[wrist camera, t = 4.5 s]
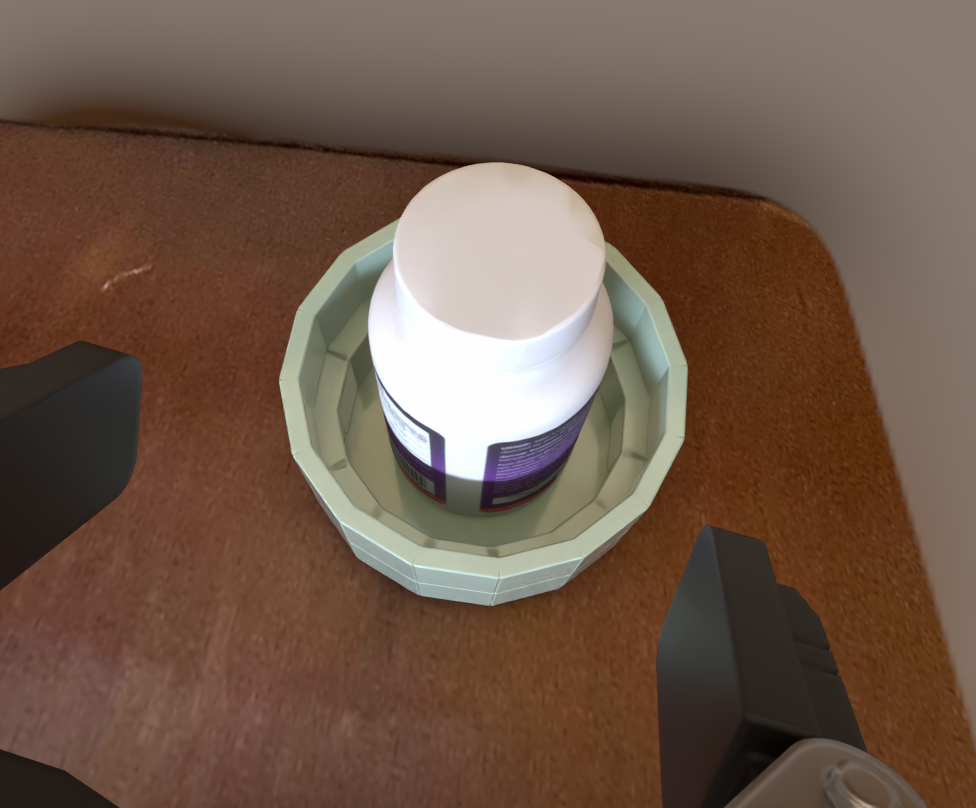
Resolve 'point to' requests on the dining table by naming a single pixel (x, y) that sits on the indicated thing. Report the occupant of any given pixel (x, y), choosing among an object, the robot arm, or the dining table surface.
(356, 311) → the bowl
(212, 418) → the dining table surface
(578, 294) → the pill bottle
